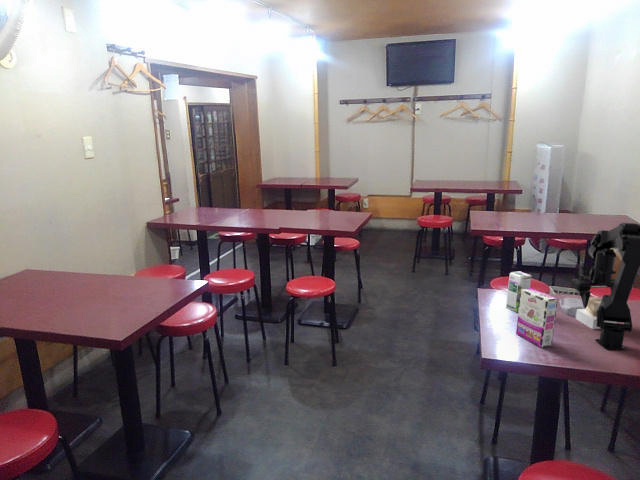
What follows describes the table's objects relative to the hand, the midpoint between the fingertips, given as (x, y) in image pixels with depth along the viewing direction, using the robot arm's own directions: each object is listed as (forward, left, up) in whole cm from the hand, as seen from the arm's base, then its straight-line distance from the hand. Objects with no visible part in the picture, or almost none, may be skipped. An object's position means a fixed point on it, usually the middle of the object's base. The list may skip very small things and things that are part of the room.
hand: (597, 307), depth 161 cm
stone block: (+11, +2, -6) cm, 13 cm away
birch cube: (0, 0, -2) cm, 2 cm away
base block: (0, 0, -6) cm, 6 cm away
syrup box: (+13, +23, -6) cm, 27 cm away
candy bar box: (-13, +28, -6) cm, 32 cm away
